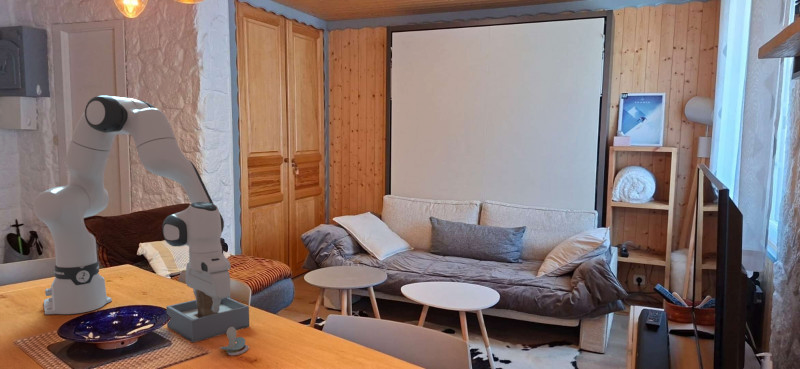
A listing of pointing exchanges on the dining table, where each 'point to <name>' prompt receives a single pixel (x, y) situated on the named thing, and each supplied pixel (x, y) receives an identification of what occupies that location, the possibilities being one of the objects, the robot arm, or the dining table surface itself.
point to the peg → (204, 304)
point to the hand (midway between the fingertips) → (207, 307)
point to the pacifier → (233, 346)
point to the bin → (207, 319)
